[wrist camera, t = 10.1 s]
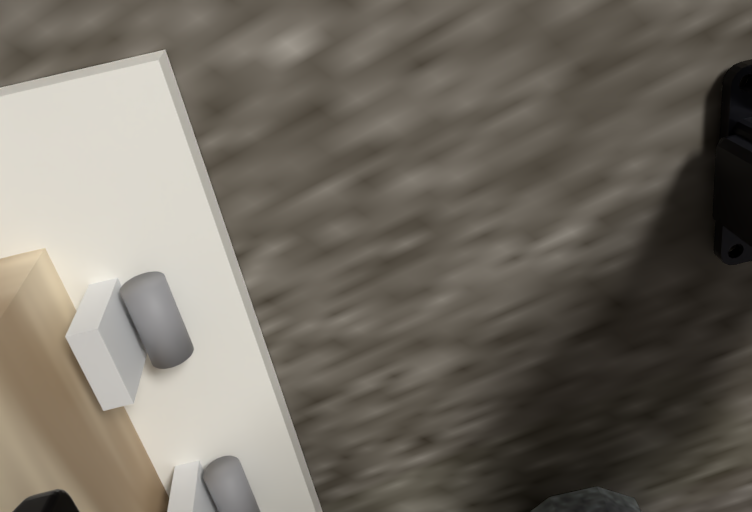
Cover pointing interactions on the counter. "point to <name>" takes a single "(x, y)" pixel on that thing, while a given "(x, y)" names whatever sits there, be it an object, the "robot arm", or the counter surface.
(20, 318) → the door panel
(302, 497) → the hinge base
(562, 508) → the mortar and pestle
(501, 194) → the counter surface
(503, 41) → the counter surface
